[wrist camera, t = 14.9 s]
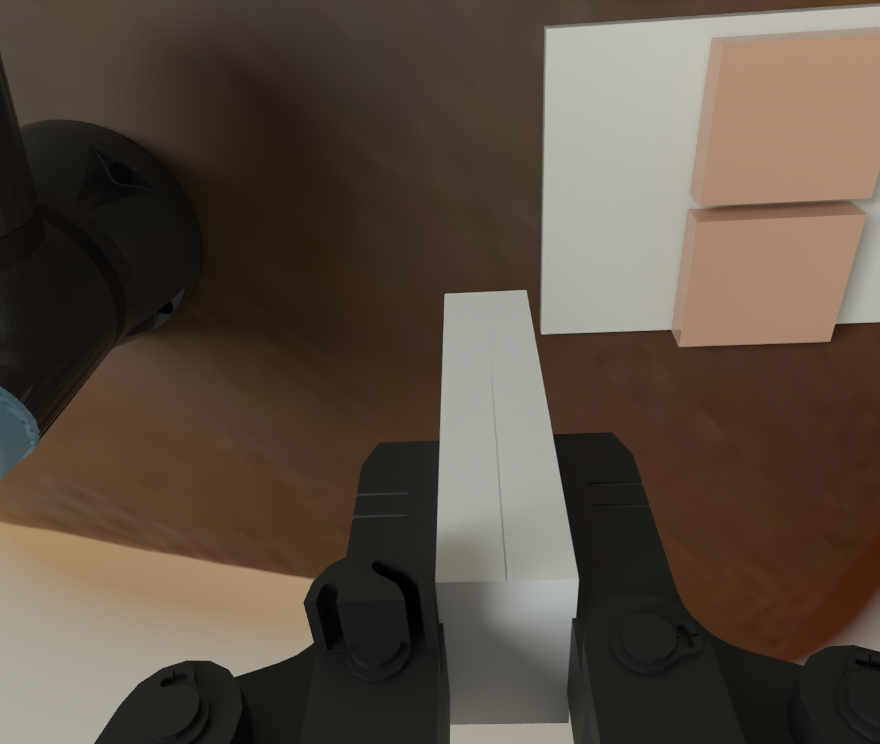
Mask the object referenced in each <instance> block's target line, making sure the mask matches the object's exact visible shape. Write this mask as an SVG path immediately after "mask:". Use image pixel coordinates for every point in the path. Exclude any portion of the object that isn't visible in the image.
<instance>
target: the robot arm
mask: <svg viewBox="0 0 880 744" xmlns="http://www.w3.org/2000/svg"><path fill="white" fill-rule="evenodd" d="M201 263H202V242H201V236H200V231H199V227H198V224H197V220H196V218H195V215H194V212H193V210H192V208H191V206H190V204H189V202H188V200H187V198H186V196H185V195H184V193H183V192H182V190H181V189H180V187H179V186H178V184H177V183H176V182H175V180H174V179H173V178H172V177H171V175H170V174H169V173H168V172H167V171H166V170H165V169H164V168H163V167H162V166H161V165H160V164H159V163H158V162H157V161H156V160H155V159H154V158H153V157H152V156H150V155H149V154H148V153H147V152H145V151H144V150H143V149H141V148H140V147H139V146H137V145H136V144H134V143H132V142H131V141H129V140H127V139H126V138H124V137H122V136H120V135H118V134H116V133H114V132H112V131H109V130H107V129H104V128H102V127H99V126H96V125H92V124H88V123H84V122H79V121H72V120H46V121H40V122H35V123H31V124H28V125H26V126H23V127H21V128H19V124H18V120H17V116H16V112H15V108H14V104H13V101H12V97H11V93H10V89H9V85H8V81H7V77H6V73H5V69H4V65H3V62H2V58H1V54H0V480H1V479H2V478H3V477H4V476H5V475H6V474H7V473H8V472H9V471H10V470H11V469H12V468H13V467H14V466H15V465H16V464H17V462H18V461H19V460H22V459H23V458H25V457H26V456H28V455H29V454H31V453H32V452H33V451H34V450H35V448H36V447H37V445H38V443H39V440H40V439H41V438H42V436H43V435H44V434H45V433H46V431H47V430H48V429H49V428H50V426H51V425H52V424H53V423H54V421H55V420H56V419H57V418H58V416H59V415H60V414H61V412H62V411H63V410H64V409H65V407H66V406H67V405H68V404H69V402H70V401H71V400H72V399H73V397H74V396H75V395H76V394H77V392H78V391H79V390H80V388H81V387H82V386H83V385H84V383H85V382H86V381H87V380H88V378H89V377H90V376H91V375H92V373H93V372H94V371H95V370H96V368H97V367H98V366H99V365H100V363H101V362H102V361H103V359H104V358H105V357H106V356H107V354H108V353H109V352H110V351H111V350H112V349H113V348H115V347H117V346H120V345H122V344H124V343H127V342H129V341H131V340H133V339H136V338H138V337H140V336H143V335H145V334H147V333H149V332H151V331H154V330H155V329H157V328H159V327H160V326H162V325H163V324H164V323H166V322H167V321H168V320H169V319H170V318H172V317H173V316H174V315H175V313H176V312H177V311H178V310H179V309H180V307H181V306H182V305H183V303H184V302H185V301H186V299H187V298H188V297H189V295H190V294H191V292H192V290H193V289H194V287H195V285H196V282H197V280H198V277H199V273H200V269H201ZM641 482H642V481H641V478H640V475H639V472H638V469H637V465H636V462H635V459H634V456H633V454H632V453H631V452H630V451H629V450H628V449H627V448H626V447H625V446H624V445H623V444H622V443H621V442H620V441H619V440H618V438H617V437H616V436H615V435H614V434H613V433H612V432H611V433H583V434H554V435H553V434H552V428H551V423H550V417H549V412H548V406H547V401H546V395H545V390H544V384H543V379H542V373H541V368H540V362H539V357H538V351H537V346H536V341H535V335H534V330H533V324H532V319H531V313H530V308H529V302H528V297H527V291H526V290H517V291H495V292H474V293H452V294H445V299H444V329H443V360H442V391H441V421H440V441H417V442H389V443H379V444H378V445H377V447H376V448H375V449H374V451H373V452H372V453H371V455H370V456H369V457H368V459H367V460H366V461H365V463H364V464H363V465H362V469H361V474H360V480H359V486H358V492H357V493H358V497H357V498H356V504H355V509H354V520H353V521H352V527H351V533H350V539H349V544H348V550H347V556H346V557H345V558H343V559H341V560H339V561H337V562H335V563H333V564H332V565H330V566H328V567H327V568H326V569H325V570H324V571H323V572H322V573H321V574H320V575H319V576H318V577H317V578H316V579H315V580H314V581H313V583H312V585H311V587H310V589H309V591H308V594H307V596H306V598H305V600H304V606H305V610H306V614H307V618H308V621H309V625H310V629H311V633H312V636H313V640H314V643H313V644H312V645H311V646H309V647H308V648H306V649H305V650H303V651H302V652H300V653H299V654H298V655H296V656H294V657H291V658H289V659H287V660H284V661H282V662H280V663H277V664H274V665H271V666H268V667H265V668H262V669H259V670H256V671H253V672H250V673H247V674H243V675H241V676H237V677H233V675H232V674H231V673H230V671H229V670H228V669H226V668H224V667H222V666H220V665H218V664H215V663H213V662H211V661H184V662H181V663H178V664H175V665H171V666H168V667H165V668H162V669H161V670H159V671H158V672H156V673H155V674H153V675H152V676H150V677H149V678H147V679H145V680H144V681H142V682H141V683H139V684H138V685H137V687H136V688H135V689H134V690H133V691H132V692H131V693H130V694H129V696H128V697H127V698H126V699H125V700H124V701H123V702H122V703H121V705H120V706H119V707H118V709H117V710H116V712H115V713H114V715H113V716H112V718H111V719H110V721H109V722H108V724H107V725H106V727H105V728H104V730H103V731H102V733H101V734H100V736H99V737H98V739H97V740H96V742H95V743H94V744H450V725H451V724H515V723H516V724H519V723H520V724H521V723H522V724H523V723H568V720H569V711H570V717H571V725H572V732H573V739H574V744H880V652H878V651H874V650H871V649H866V648H863V647H859V646H855V645H848V646H830V647H827V648H825V649H823V650H821V651H819V652H817V653H815V654H813V655H811V656H810V657H809V658H808V660H807V662H806V663H805V665H804V666H802V665H798V664H794V663H791V662H787V661H783V660H779V659H775V658H772V657H768V656H764V655H760V654H757V653H753V652H749V651H747V650H744V649H741V648H738V647H736V646H733V645H730V644H728V643H726V642H725V641H723V640H721V639H719V638H718V637H716V636H714V635H712V634H711V633H710V632H708V631H707V630H706V629H705V628H704V627H702V626H701V625H700V623H699V622H698V621H697V620H696V619H694V618H693V617H692V616H691V614H690V613H689V612H688V611H687V609H686V608H685V607H684V605H683V603H682V601H681V599H680V596H679V594H678V592H677V589H676V586H675V583H674V580H673V577H672V574H671V571H670V568H669V564H668V561H667V558H666V555H665V552H664V549H663V546H662V543H661V540H660V537H659V534H658V530H657V527H656V524H655V521H654V518H653V515H652V512H651V509H649V503H648V499H647V496H646V493H645V490H644V487H643V486H642V483H641Z"/></svg>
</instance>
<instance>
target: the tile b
mask: <svg viewBox="0 0 880 744" xmlns="http://www.w3.org/2000/svg"><path fill="white" fill-rule="evenodd" d="M879 170H880V27H870V28H854V29H839V30H824V31H808V32H793V33H778V34H763V35H747V36H732V37H717V38H712V39H711V46H710V53H709V60H708V68H707V75H706V82H705V90H704V97H703V104H702V111H701V119H700V126H699V133H698V141H697V148H696V155H695V162H694V170H693V177H692V184H691V191H690V195H691V196H692V197H693V199H694V200H695V201H696V202H697V204H698V205H699V206H720V205H740V204H761V203H782V202H802V201H823V200H843V199H864V198H872V194H873V191H874V187H875V184H876V180H877V177H878V173H879Z"/></svg>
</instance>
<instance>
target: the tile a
mask: <svg viewBox="0 0 880 744" xmlns="http://www.w3.org/2000/svg"><path fill="white" fill-rule="evenodd" d="M866 215H867V214H866V213H865V212H863V211H862V210H861V209H859V208H858V207H857V206H855V205H854V204H853V203H852V202H829V203H809V204H788V205H767V206H746V207H726V208H705V209H688V213H687V221H686V228H685V235H684V242H683V250H682V257H681V264H680V272H679V279H678V286H677V293H676V301H675V308H674V315H673V323H672V330H671V331H672V333H673V335H674V337H675V339H676V342H677V344H678V346H679V347H691V346H720V345H749V344H778V343H807V342H830V340H831V337H832V333H833V330H834V326H835V323H836V320H837V316H838V313H839V309H840V306H841V302H842V299H843V295H844V292H845V288H846V285H847V281H848V278H849V274H850V271H851V267H852V264H853V260H854V257H855V253H856V250H857V246H858V243H859V239H860V236H861V232H862V229H863V226H864V222H865V219H866Z"/></svg>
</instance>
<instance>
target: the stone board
mask: <svg viewBox="0 0 880 744" xmlns="http://www.w3.org/2000/svg"><path fill="white" fill-rule="evenodd" d="M870 27H880V3H876V4H861V5H846V6H832V7H817V8H802V9H787V10H773V11H758V12H743V13H728V14H714V15H699V16H684V17H669V18H655V19H640V20H625V21H610V22H596V23H581V24H566V25H551V26H544V82H543V147H542V212H541V277H540V331H541V334H566V333H593V332H621V331H648V330H672V323H673V315H674V308H675V301H676V293H677V286H678V279H679V272H680V264H681V257H682V250H683V242H684V235H685V228H686V221H687V213H688V209H705V208H726V207H746V206H767V205H788V204H809V203H829V202H852V203H853V204H854V205H855V206H857V207H858V208H859V209H861V210H862V211H863V212H865V213H866V214H867V215H866V219H865V222H864V226H863V229H862V232H861V236H860V239H859V243H858V246H857V250H856V253H855V257H854V260H853V264H852V267H851V271H850V274H849V278H848V281H847V285H846V288H845V292H844V295H843V299H842V302H841V306H840V309H839V313H838V316H837V320H836V323H835V324H841V323H869V322H880V170H879V173H878V177H877V180H876V184H875V187H874V191H873V194H872V198H864V199H843V200H823V201H802V202H782V203H761V204H740V205H720V206H699V205H698V204H697V202H696V201H695V200H694V199H693V197H692V196H691V195H690V191H691V184H692V177H693V170H694V162H695V155H696V148H697V141H698V133H699V126H700V119H701V111H702V104H703V97H704V90H705V82H706V75H707V68H708V60H709V53H710V46H711V39H712V38H717V37H732V36H747V35H763V34H778V33H793V32H808V31H824V30H839V29H854V28H870Z"/></svg>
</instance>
